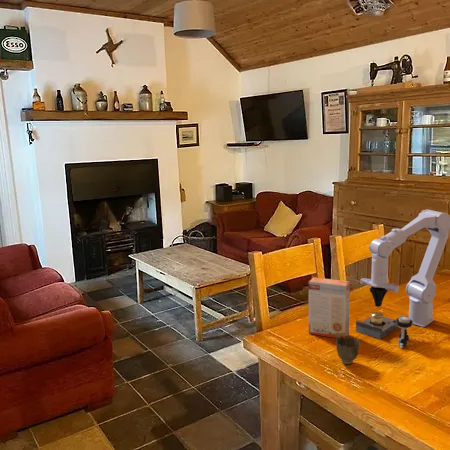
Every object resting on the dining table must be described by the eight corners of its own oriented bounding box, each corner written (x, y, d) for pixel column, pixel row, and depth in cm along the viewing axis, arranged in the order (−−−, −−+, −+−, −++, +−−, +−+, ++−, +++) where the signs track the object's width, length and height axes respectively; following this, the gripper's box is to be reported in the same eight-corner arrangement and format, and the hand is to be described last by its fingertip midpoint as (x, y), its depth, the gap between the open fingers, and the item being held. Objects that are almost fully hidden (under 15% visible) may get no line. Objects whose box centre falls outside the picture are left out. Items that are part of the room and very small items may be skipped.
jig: (374, 320, 181) (375, 310, 180) (398, 327, 174) (399, 317, 173) (355, 331, 172) (356, 321, 171) (380, 339, 164) (380, 328, 164)
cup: (355, 371, 144) (355, 347, 142) (332, 365, 147) (332, 342, 146) (361, 360, 150) (362, 338, 148) (339, 355, 154) (340, 333, 152)
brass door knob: (373, 325, 176) (374, 310, 175) (385, 328, 173) (385, 313, 172) (368, 329, 173) (368, 314, 172) (379, 332, 170) (380, 317, 169)
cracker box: (349, 334, 169) (350, 280, 165) (345, 340, 164) (346, 285, 160) (313, 327, 176) (313, 276, 172) (308, 333, 171) (308, 280, 167)
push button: (408, 351, 155) (409, 323, 153) (392, 347, 158) (393, 320, 156) (412, 343, 160) (414, 317, 158) (397, 339, 164) (398, 313, 161)
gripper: (356, 269, 171) (355, 303, 173) (392, 278, 160) (391, 314, 163) (366, 265, 175) (365, 298, 178) (402, 273, 165) (400, 308, 168)
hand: (378, 305), depth 171 cm, fingers closed
